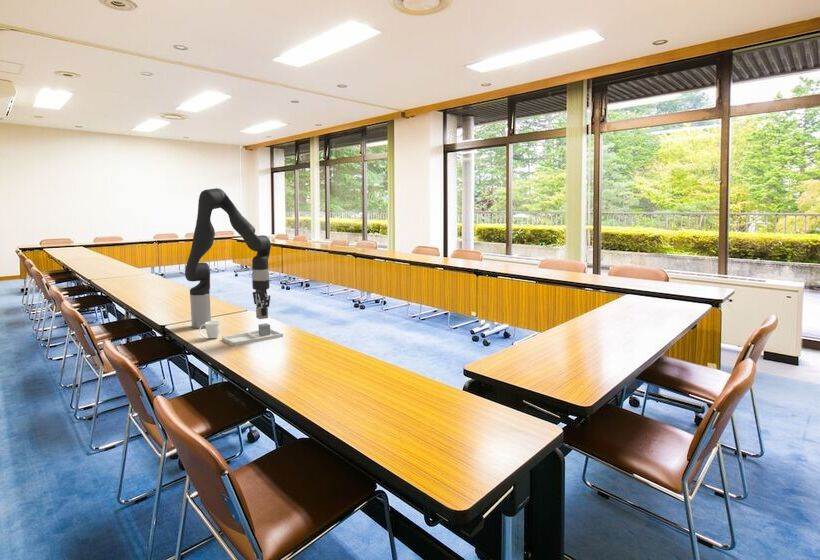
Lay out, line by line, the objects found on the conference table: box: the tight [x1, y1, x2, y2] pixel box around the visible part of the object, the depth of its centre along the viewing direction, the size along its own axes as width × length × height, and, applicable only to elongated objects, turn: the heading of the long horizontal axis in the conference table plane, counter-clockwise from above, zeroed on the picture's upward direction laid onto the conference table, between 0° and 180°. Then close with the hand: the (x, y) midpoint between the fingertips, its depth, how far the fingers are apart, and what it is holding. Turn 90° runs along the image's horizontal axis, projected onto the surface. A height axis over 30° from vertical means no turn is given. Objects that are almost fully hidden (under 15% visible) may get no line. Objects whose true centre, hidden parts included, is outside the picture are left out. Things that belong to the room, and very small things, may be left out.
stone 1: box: [255, 306, 269, 320], centre depth 217 cm, size 4×4×5 cm
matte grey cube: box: [258, 322, 271, 336], centre depth 225 cm, size 4×4×5 cm
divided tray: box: [221, 328, 284, 347], centre depth 219 cm, size 13×24×2 cm, turn 133°
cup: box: [198, 320, 221, 339], centre depth 217 cm, size 7×10×8 cm
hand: (261, 314), depth 217 cm, fingers closed on stone 1, 4 cm apart
